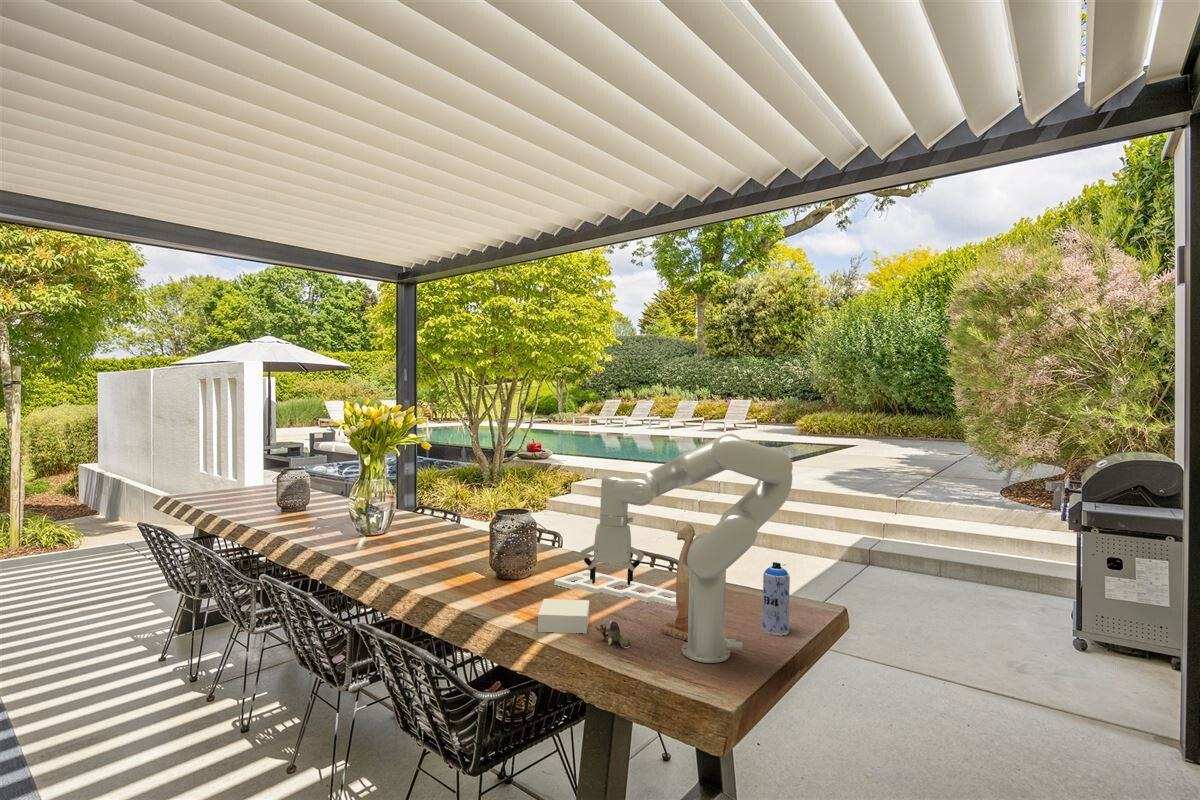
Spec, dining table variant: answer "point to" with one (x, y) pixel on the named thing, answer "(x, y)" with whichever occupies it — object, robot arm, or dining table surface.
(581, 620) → the stand
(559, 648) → the dining table surface
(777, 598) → the aerosol can
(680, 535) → the bird sculpture
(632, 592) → the holder
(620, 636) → the eagle figurine
